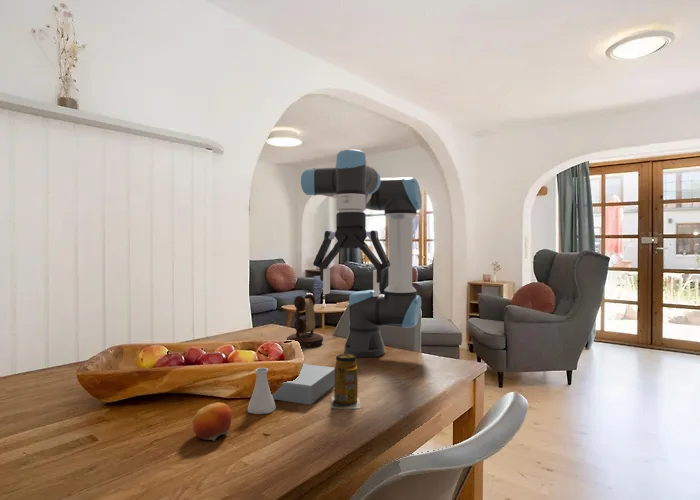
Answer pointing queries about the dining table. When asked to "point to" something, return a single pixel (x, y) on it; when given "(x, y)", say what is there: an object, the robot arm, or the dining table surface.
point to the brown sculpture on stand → (305, 322)
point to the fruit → (212, 421)
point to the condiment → (345, 383)
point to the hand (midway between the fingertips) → (350, 294)
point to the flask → (261, 395)
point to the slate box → (307, 385)
